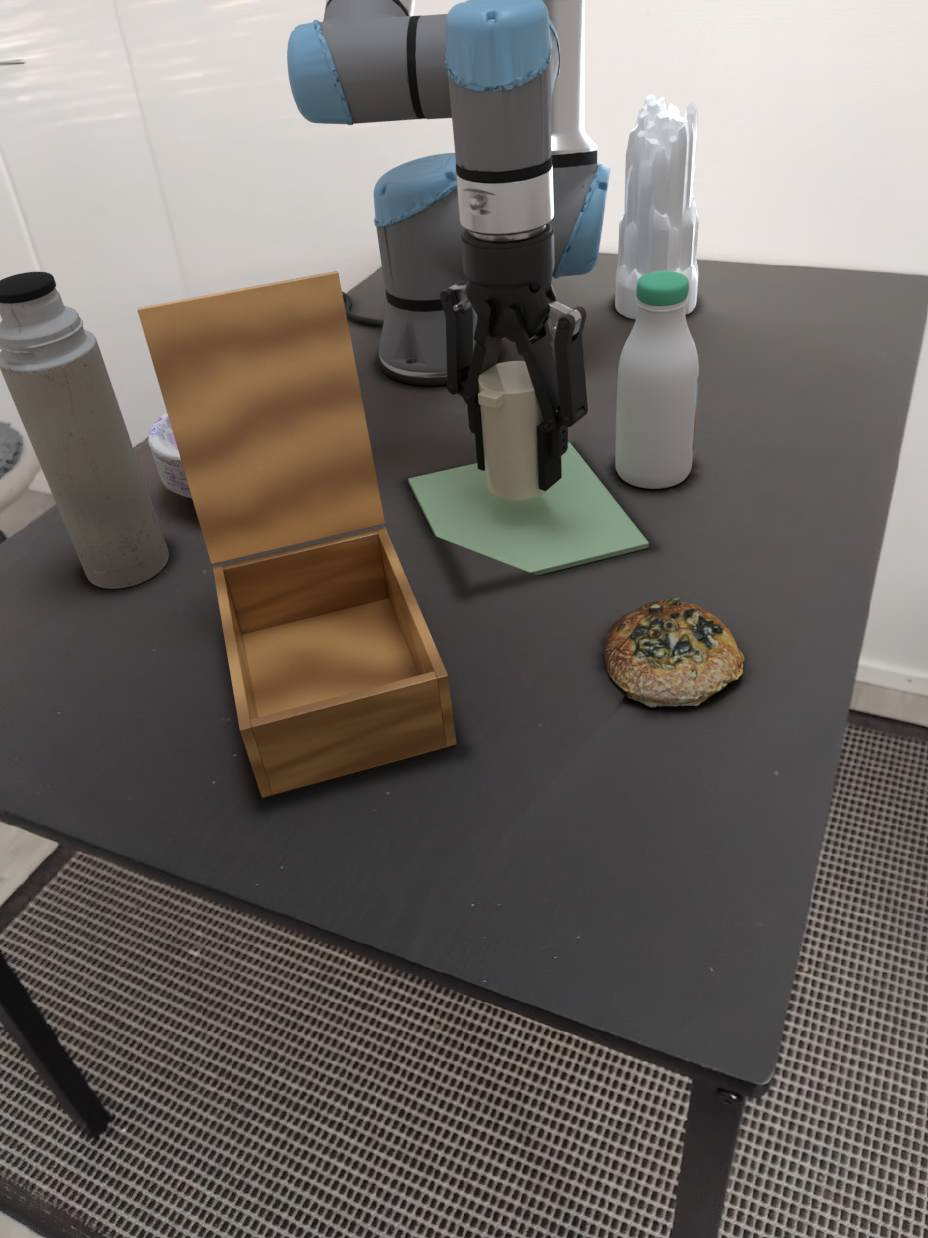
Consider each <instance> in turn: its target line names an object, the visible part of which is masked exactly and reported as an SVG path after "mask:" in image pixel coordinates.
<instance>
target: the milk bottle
mask: <svg viewBox="0 0 928 1238" xmlns="http://www.w3.org/2000/svg"><path fill="white" fill-rule="evenodd" d="M688 290H689V281H688V278H687V277H686V276H685V275H683V274H681V273H678V272H674V271H655V272H650V273H647V274H644V275H642V276H641V277H640V278H639V279H638V282H637V300H636V303H637V305H638V306H639V310H638V315H637V318H636V319H635V322H634V324H633V326H632V328H631V331H630V333H629V335H628V337H627V339H626V341H625V343H624V345H623V347H622V350H621V354H620V357H619V362H618V370H617V385H616V413H615V450H614V451H615V453H614V457H615V459H614V461H615V462H614V463H615V471H616V472H617V475H618V476H619V478H620V479H621V480H623V481H624V482H625V483H627V484H629V485H631V486H634V487H637V488H643V489H650V490H657V489H658V490H659V489H666V488H671V487H674V486H676V485H679V484H680V483H682V482H684V481H685V480H686V479H687V478H688V476H689V475H690V473H691V471H692V467H693V458H694V446H695V436H696V435H695V434H696V422H697V421H696V420H697V410H698V409H697V408H698V396H699V395H698V394H699V379H700V378H699V377H700V376H699V375H700V373H699V372H700V366H699V363H700V362H699V356H698V355H699V354H698V351H697V350H698V349H697V347H696V343H695V341H694V338H693V336H692V334H691V330H690V328H689V325H688V322H687V317H686V315H685V311H684V308H685V305H686V304H687V302H688V299H687V296H688Z"/></svg>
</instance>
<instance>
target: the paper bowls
mask: <svg viewBox="0 0 928 1238" xmlns="http://www.w3.org/2000/svg"><path fill="white" fill-rule="evenodd" d="M147 443H148V446H149V448H150V451H151V454H152V458H153V462H154V464H155V466H156V469H157V473H158V475H159V477H160V480H161V482H162V484H163V486H164V487H165V488H166V489H168V490H169V491H171V492H172V493H174V494H176V495H179V496H181V497H185V498H190V499H192V496H191V493H190V489H189V486H188V482H187V479H186V475H185V472H184V469H183V465H182V462H181V458H180V455H179V451H178V448H177V445H176V441H175V438H174V434H173V431H172V427H171V424H170V421H169V417H168V414H167V411H166V412H164V413H163V414H162V415H161V416H159V418H157V419H156V420H155V421H154V422H153V423H152V426H151V427H150V430H149V432H148V435H147Z"/></svg>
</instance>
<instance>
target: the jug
mask: <svg viewBox="0 0 928 1238" xmlns="http://www.w3.org/2000/svg"><path fill="white" fill-rule="evenodd" d="M478 384H479V394H478V402H479V404H480V411H481V424H482V437H483V451H484V464H485V477H486V487H487V489H488V490H489V491H490V492H491V493H492V494H493V495H495V496H497V497H499V498H502V499H507V500H527V499H532V498H535V497H538V496H540V495H542V494H544V493H545V492H547V491H548V490H549V489H550V488H549V489H548V490H547V491H543V490H540V489H539V476H538V447H537V426H538V425H540V424H541V423H542V422H544V420H543V417H542V414H541V410H540V407H539V404H538V401H537V398H536V395H535V390H534V388H533V385H532V382H531V379H530V376H529V373H528V369H527V366H526V363H525V360H511V361H510V360H509V361H503V362H499V363H496V364H495V365H494V366H492V367H491V368H489V369H488V370H486V371H485V372H483V373H482V374H480V375H479V378H478Z"/></svg>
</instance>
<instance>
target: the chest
mask: <svg viewBox="0 0 928 1238" xmlns="http://www.w3.org/2000/svg"><path fill="white" fill-rule="evenodd" d="M212 572H213V578H214V584H215V590H216V595H217V601H218V602H217V603H218V609H219V614H220V620H221V627H222V631H223V638H224V644H225V650H226V651H225V652H226V657H227V663H228V667H229V673H230V680H231V681H230V682H231V686H232V693H233V698H234V704H235V710H236V717H237V722H238V728H239V733H240V736H241V738H242V741H243V745H244V747H245V751H246V754H247V757H248V760H249V763H250V766H251V769H252V773H253V775H254V778H255V781H256V784H257V787H258V791H259V793H260V797H261V798H262V799H264V798H267V797H271V796H274V795H278V794H281V793H282V794H283V793H286V792H290V791H292V790H296V789H300V788H303V787H307V786H312V785H314V784H318V783H321V782H325V781H328V780H329V781H330V780H332V779H336V778H340V777H343V776H347V775H350V774H353V773H357V772H362V771H364V770H368V769H373V768H376V767H380V766H383V765H387V764H390V763H394V762H397V761H401V760H405V759H408V758H412V757H416V756H419V755H423V754H427V753H430V752H433V751H437V750H441V749H444V748H445V749H446V748H448V747H451V746H456V745H457V736H456V735H457V734H456V728H455V719H454V712H453V702H452V695H451V688H450V680H449V674H448V671H447V669H446V667H445V664H444V662H443V660H442V657H441V655H440V653H439V651H438V648H437V646H436V643H435V641H434V638H433V637H432V633H431V631H430V629H429V626H428V624H427V621H426V619H425V618H424V615H423V612H422V611H421V608H420V606H419V604H418V601H417V599H416V596H415V594H414V592H413V589H412V586H411V584H410V582H409V579H408V577H407V575H406V573H405V570H404V568H403V566H402V564H401V560H400V559H399V556H398V554H397V552H396V550H395V547H394V544H393V543H392V539H391V537H390V535H389V532H388V530H387V527H385V526H382V527H378V528H374V529H369V530H365V531H361V532H355V533H352V534H348V535H344V536H340V537H334V538H330V539H326V540H322V541H317V542H314V543H309V544H305V545H301V546H297V547H293V548H288V549H283V550H279V551H275V552H270V553H266V554H262V555H258V556H253V557H248V558H245V559H240V560H237V561H232V562H228V563H223V564H219V565H215V566H212Z"/></svg>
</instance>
